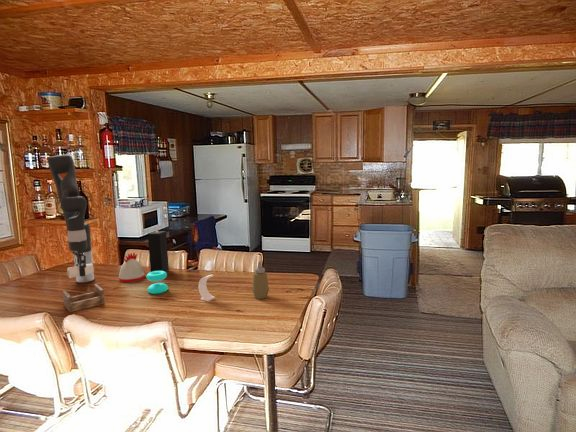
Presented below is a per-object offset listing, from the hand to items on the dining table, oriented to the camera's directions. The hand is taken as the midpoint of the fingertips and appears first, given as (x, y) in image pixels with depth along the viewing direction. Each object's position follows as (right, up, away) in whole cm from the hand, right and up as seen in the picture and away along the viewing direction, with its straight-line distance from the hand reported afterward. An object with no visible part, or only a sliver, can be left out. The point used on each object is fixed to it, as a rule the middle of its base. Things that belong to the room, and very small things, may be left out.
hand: (81, 274), depth 176 cm
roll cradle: (0, -15, +2) cm, 15 cm away
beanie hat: (+7, -9, +42) cm, 43 cm away
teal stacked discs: (+30, -12, +18) cm, 37 cm away
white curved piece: (+58, -13, +6) cm, 60 cm away
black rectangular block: (+19, -7, +53) cm, 57 cm away
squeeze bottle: (+84, -12, +6) cm, 85 cm away
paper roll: (0, -1, 0) cm, 1 cm away
